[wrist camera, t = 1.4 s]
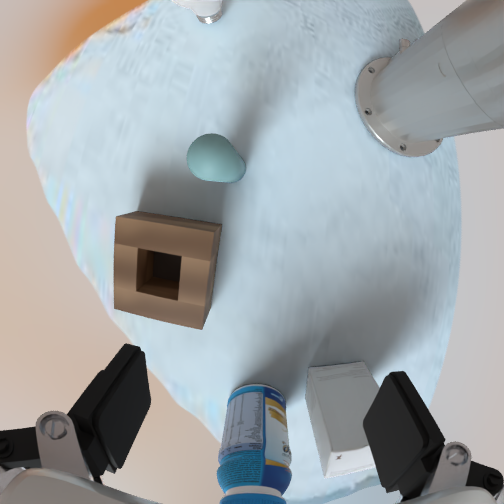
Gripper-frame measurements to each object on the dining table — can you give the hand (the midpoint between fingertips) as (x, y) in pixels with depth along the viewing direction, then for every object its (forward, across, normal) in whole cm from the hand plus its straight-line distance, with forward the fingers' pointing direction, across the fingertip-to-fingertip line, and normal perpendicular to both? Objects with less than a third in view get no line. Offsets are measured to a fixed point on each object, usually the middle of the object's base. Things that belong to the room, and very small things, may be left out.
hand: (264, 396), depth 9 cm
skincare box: (+21, -12, +16) cm, 30 cm away
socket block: (+21, +10, +2) cm, 24 cm away
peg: (+21, +5, -8) cm, 23 cm away
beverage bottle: (+21, -2, +22) cm, 31 cm away
